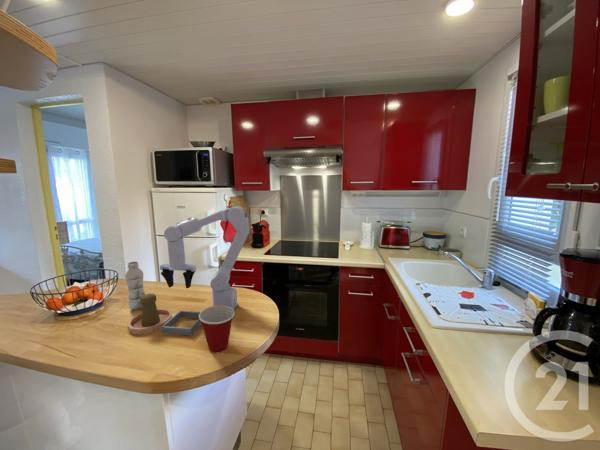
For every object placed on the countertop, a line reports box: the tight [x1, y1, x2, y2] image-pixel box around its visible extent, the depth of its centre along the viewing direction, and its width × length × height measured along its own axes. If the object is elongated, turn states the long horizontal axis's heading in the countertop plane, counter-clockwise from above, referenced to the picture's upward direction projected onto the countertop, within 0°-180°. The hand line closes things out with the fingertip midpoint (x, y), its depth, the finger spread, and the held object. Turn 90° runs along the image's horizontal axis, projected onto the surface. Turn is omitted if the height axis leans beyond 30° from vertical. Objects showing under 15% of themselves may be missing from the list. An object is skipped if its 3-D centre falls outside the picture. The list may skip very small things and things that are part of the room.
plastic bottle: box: [124, 261, 146, 311], centre depth 100 cm, size 6×7×20 cm
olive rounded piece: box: [140, 293, 160, 327], centre depth 89 cm, size 6×6×11 cm
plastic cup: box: [199, 306, 236, 354], centre depth 76 cm, size 11×11×12 cm
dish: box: [127, 308, 173, 336], centre depth 90 cm, size 14×14×2 cm
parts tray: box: [160, 310, 202, 337], centre depth 89 cm, size 11×11×2 cm
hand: (179, 286), depth 98 cm, fingers open, 7 cm apart
